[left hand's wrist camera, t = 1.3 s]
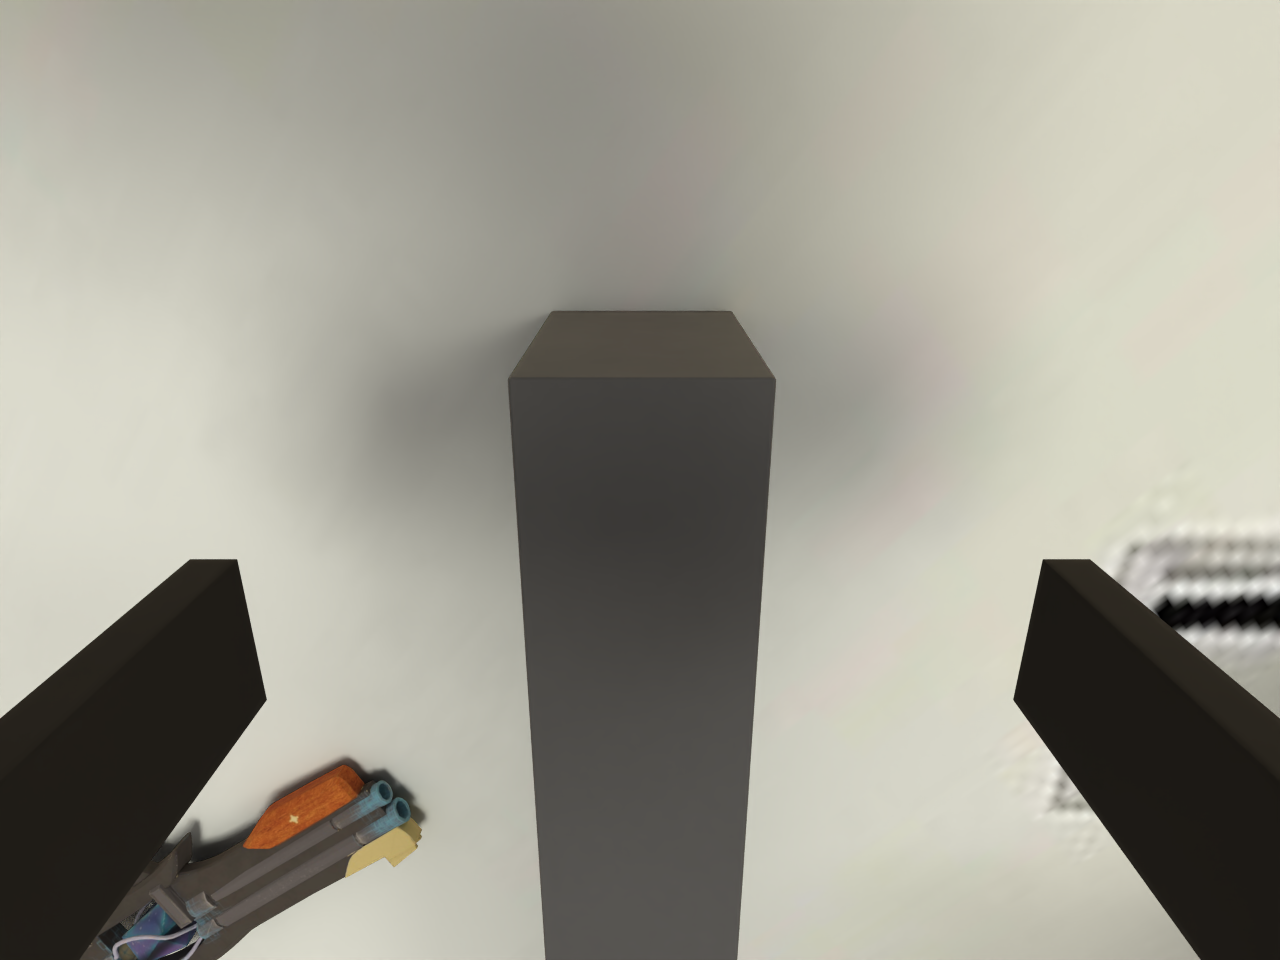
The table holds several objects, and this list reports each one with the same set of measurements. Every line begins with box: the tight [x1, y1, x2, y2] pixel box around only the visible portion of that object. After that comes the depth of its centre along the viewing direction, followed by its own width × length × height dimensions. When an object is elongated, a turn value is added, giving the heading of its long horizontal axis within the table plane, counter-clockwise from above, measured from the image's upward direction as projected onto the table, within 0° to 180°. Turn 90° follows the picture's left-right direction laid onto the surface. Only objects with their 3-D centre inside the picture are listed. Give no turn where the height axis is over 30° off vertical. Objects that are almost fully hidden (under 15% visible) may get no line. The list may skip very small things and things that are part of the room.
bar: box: [508, 311, 776, 960], centre depth 26 cm, size 34×6×8 cm, turn 0°
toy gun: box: [79, 765, 422, 960], centre depth 30 cm, size 3×19×10 cm
